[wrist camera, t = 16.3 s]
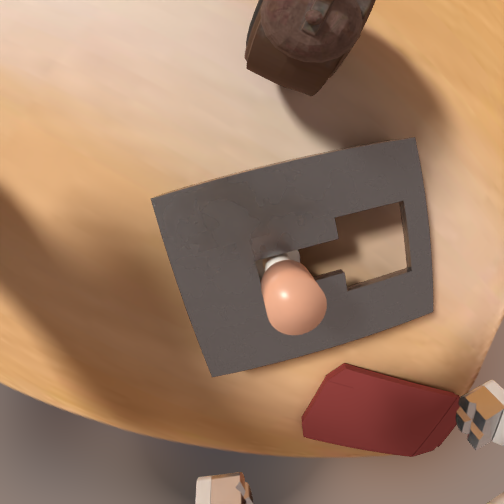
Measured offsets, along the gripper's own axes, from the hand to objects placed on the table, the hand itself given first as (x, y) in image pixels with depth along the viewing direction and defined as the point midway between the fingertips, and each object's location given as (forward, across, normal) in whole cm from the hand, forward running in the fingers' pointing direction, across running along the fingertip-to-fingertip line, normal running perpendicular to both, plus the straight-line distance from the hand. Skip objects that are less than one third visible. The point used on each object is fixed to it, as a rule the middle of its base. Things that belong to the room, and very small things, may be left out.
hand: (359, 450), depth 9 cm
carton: (+26, -1, +20) cm, 32 cm away
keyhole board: (+25, -3, 0) cm, 25 cm away
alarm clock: (+25, -7, -21) cm, 33 cm away
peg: (+25, 0, 0) cm, 25 cm away
